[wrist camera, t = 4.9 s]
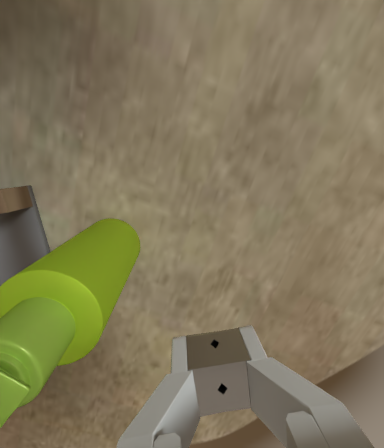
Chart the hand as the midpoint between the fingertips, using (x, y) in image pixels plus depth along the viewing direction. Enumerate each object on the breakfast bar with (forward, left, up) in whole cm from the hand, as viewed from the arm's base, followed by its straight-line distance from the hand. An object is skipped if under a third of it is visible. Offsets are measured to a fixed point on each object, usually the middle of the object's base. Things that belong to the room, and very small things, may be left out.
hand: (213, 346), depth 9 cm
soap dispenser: (+8, 0, -17) cm, 19 cm away
